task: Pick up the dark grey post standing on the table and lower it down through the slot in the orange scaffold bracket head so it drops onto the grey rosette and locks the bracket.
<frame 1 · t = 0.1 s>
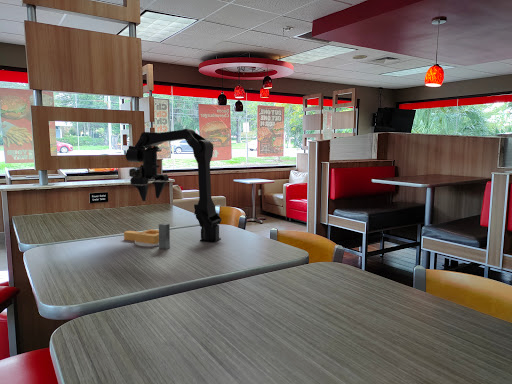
hand: (150, 199, 157), 14 cm above the table, fingers open, 9 cm apart
bracket: (152, 242, 145), on the table
dark grey post: (164, 248, 137), on the table
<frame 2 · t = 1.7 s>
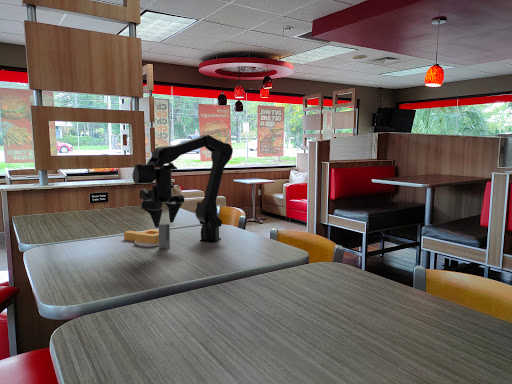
hand: (164, 224, 136), 9 cm above the table, fingers open, 9 cm apart
nothing on the table moved.
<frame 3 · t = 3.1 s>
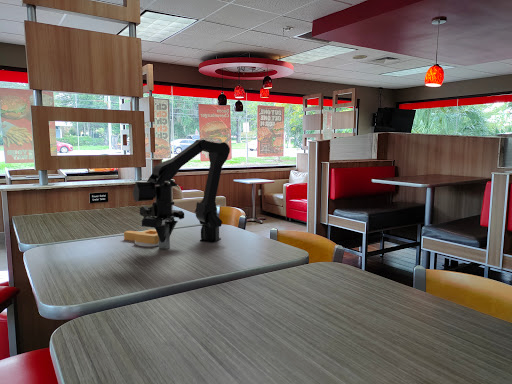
hand: (164, 241, 137), 3 cm above the table, fingers closed on dark grey post, 2 cm apart
dark grey post: (164, 248, 137), on the table, touching gripper
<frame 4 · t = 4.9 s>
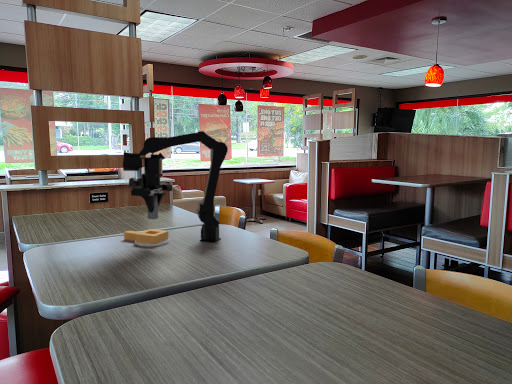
hand: (152, 211, 142), 12 cm above the table, fingers closed on dark grey post, 2 cm apart
dark grey post: (152, 218, 142), point 10 cm above the table, touching gripper
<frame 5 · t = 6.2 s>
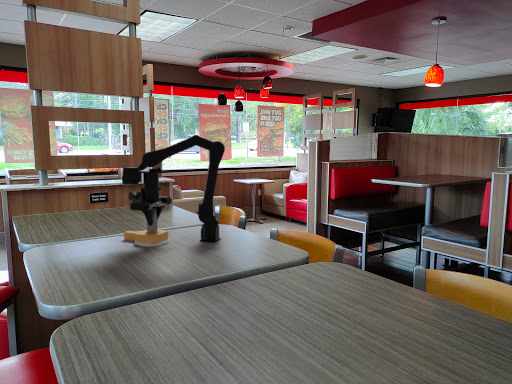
hand: (152, 224, 144), 7 cm above the table, fingers closed on dark grey post, 2 cm apart
dark grey post: (152, 231, 144), point 4 cm above the table, touching gripper
when the fingers open (5 cm above the table, at t = 6.9 s): dark grey post drops 1 cm, resting on bracket.
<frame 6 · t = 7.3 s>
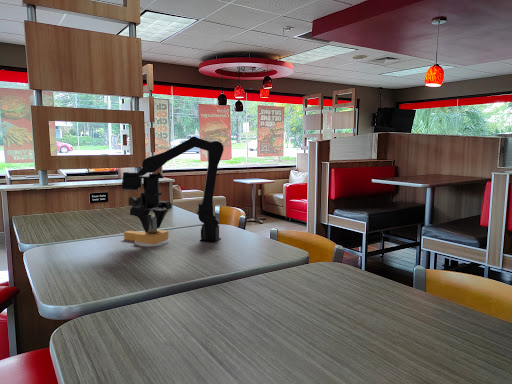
hand: (152, 229, 144), 5 cm above the table, fingers open, 7 cm apart
dark grey post: (152, 239, 145), point 1 cm above the table, touching bracket
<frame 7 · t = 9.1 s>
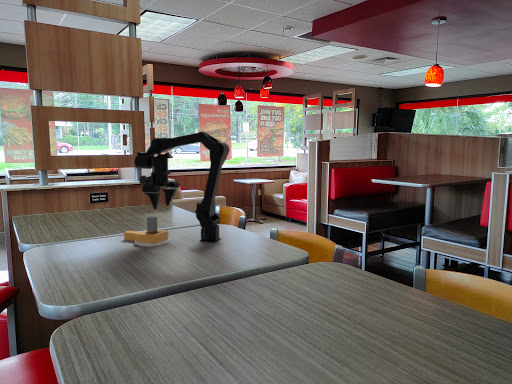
hand: (161, 207, 153), 12 cm above the table, fingers open, 9 cm apart
nothing on the table moved.
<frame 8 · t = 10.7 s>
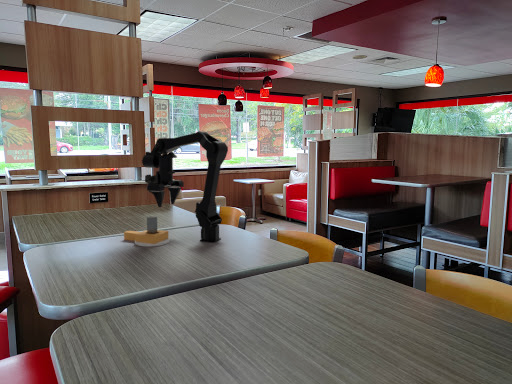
hand: (166, 205, 157), 12 cm above the table, fingers open, 9 cm apart
nothing on the table moved.
at the end: dark grey post 0.1 cm off-centre on the bracket, point 0.8 cm above the bracket's base; dark grey post tilted 0°; the gripper is holding nothing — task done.
